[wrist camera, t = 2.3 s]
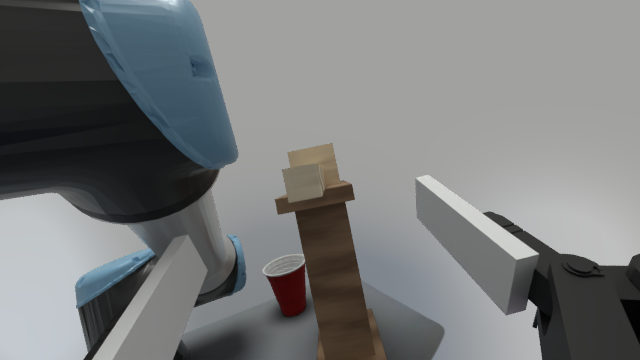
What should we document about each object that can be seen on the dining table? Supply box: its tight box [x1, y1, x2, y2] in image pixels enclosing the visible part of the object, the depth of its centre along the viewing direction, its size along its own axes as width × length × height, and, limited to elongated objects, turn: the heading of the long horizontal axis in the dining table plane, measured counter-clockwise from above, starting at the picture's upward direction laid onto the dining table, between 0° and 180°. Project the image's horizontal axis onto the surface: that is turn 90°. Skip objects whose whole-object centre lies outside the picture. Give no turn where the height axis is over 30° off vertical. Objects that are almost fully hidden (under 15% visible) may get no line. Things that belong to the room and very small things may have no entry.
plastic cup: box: [263, 254, 306, 316], centre depth 59 cm, size 11×11×12 cm
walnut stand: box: [275, 181, 387, 360], centre depth 41 cm, size 20×11×29 cm, turn 178°
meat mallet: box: [282, 143, 340, 203], centre depth 35 cm, size 28×8×7 cm, turn 178°
